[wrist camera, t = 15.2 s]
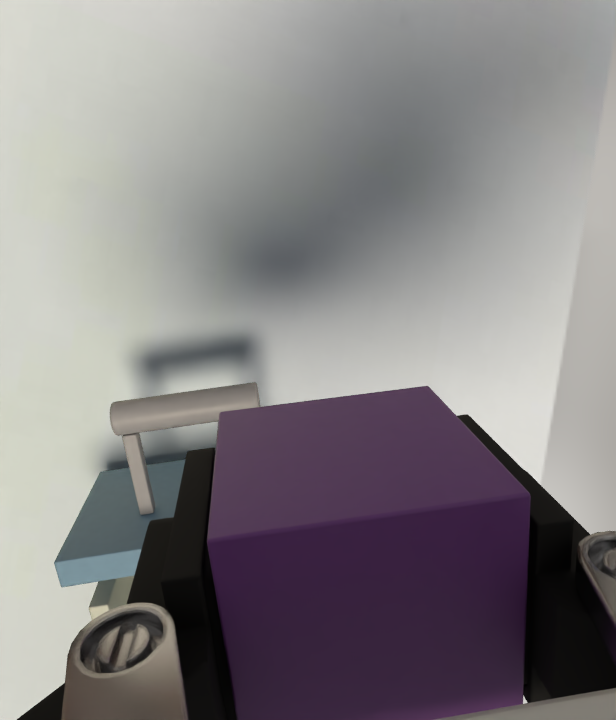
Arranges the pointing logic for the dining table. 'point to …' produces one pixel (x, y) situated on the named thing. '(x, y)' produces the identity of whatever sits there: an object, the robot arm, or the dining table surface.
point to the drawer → (136, 492)
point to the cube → (367, 561)
